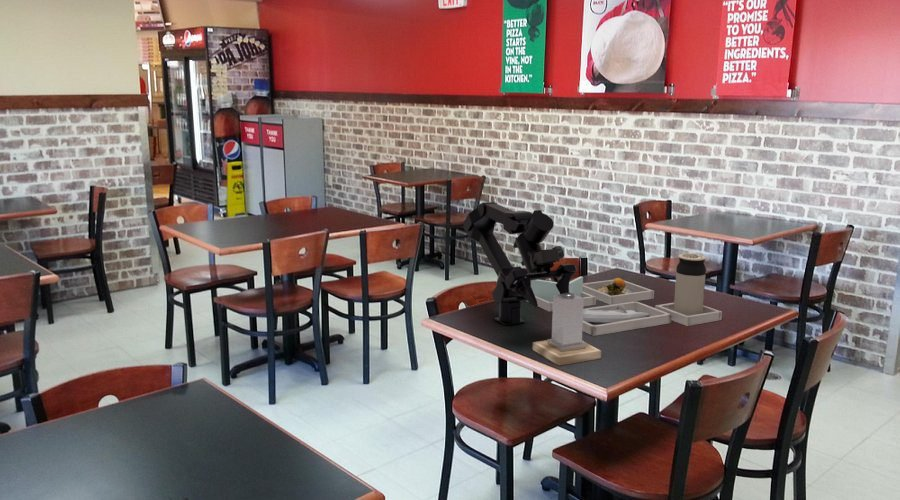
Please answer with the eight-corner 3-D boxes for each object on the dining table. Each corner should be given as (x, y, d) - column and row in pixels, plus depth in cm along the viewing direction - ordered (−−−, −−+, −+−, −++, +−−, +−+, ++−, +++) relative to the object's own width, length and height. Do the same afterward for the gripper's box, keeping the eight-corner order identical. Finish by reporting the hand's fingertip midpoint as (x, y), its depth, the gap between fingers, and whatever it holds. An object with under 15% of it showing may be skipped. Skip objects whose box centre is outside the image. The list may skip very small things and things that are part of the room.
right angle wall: (582, 300, 230) (583, 276, 228) (566, 309, 220) (567, 284, 218) (547, 294, 236) (547, 272, 234) (530, 303, 226) (531, 279, 224)
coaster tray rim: (518, 297, 232) (518, 289, 231) (563, 291, 239) (563, 284, 238) (548, 311, 217) (549, 303, 216) (595, 304, 224) (595, 296, 223)
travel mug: (671, 319, 210) (676, 257, 206) (674, 311, 217) (678, 252, 214) (701, 322, 207) (706, 260, 203) (702, 314, 214) (707, 254, 211)
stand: (532, 349, 184) (532, 341, 183) (573, 343, 189) (573, 335, 188) (558, 365, 173) (558, 357, 173) (600, 358, 178) (601, 350, 178)
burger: (610, 289, 243) (611, 267, 242) (641, 296, 235) (642, 273, 233) (588, 295, 235) (589, 272, 234) (619, 303, 227) (620, 279, 225)
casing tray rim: (560, 320, 208) (560, 312, 207) (635, 309, 219) (636, 301, 219) (592, 336, 195) (593, 327, 194) (671, 323, 206) (671, 314, 206)
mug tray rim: (654, 313, 215) (655, 305, 215) (688, 308, 221) (688, 300, 220) (686, 326, 204) (687, 317, 203) (721, 320, 209) (722, 311, 209)
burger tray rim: (577, 291, 239) (577, 284, 238) (618, 286, 246) (619, 278, 246) (610, 304, 224) (610, 296, 223) (653, 298, 231) (654, 290, 231)
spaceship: (581, 327, 203) (582, 311, 202) (571, 320, 209) (572, 305, 208) (656, 320, 209) (657, 305, 208) (644, 314, 215) (645, 300, 214)
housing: (547, 344, 182) (549, 292, 179) (571, 340, 185) (573, 289, 182) (561, 352, 176) (563, 299, 174) (585, 348, 179) (588, 296, 176)
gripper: (511, 238, 182) (532, 292, 175) (575, 233, 190) (597, 284, 182) (496, 262, 191) (515, 314, 184) (557, 256, 199) (578, 306, 191)
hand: (552, 304), depth 185 cm, fingers open, 9 cm apart
